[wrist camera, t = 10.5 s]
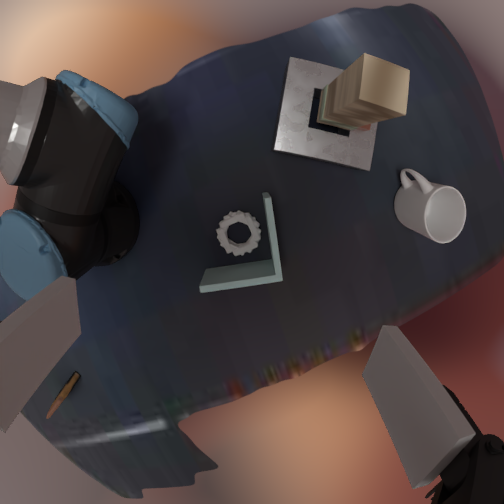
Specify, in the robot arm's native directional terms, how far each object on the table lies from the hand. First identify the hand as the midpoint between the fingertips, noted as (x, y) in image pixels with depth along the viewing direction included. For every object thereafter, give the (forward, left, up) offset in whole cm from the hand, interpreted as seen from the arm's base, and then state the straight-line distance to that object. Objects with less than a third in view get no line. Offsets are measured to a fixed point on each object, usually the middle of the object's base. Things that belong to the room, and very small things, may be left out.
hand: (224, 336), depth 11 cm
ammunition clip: (-36, -48, -37) cm, 70 cm away
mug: (+28, +7, -37) cm, 47 cm away
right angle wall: (0, -5, -37) cm, 38 cm away
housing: (+10, +16, -37) cm, 41 cm away
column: (+10, +16, -29) cm, 35 cm away
